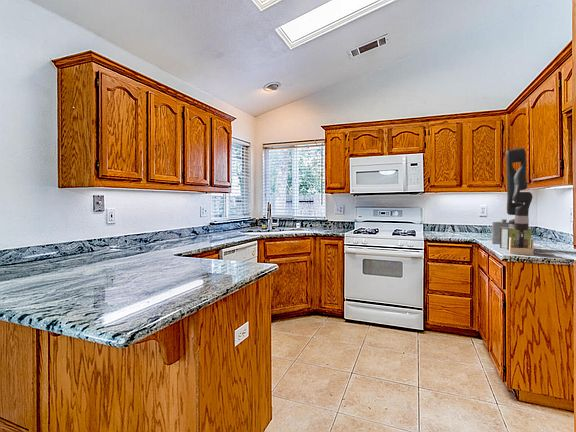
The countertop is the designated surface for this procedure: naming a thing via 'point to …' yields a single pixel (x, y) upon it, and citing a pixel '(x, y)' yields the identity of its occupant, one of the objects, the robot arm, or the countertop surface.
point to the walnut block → (516, 243)
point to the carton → (521, 249)
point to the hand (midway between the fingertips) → (520, 248)
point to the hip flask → (498, 230)
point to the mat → (545, 254)
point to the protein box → (512, 236)
